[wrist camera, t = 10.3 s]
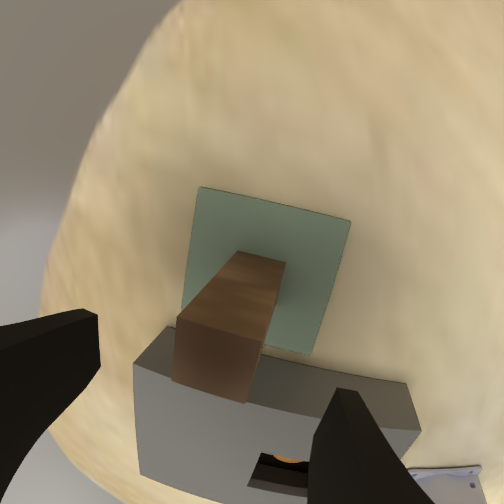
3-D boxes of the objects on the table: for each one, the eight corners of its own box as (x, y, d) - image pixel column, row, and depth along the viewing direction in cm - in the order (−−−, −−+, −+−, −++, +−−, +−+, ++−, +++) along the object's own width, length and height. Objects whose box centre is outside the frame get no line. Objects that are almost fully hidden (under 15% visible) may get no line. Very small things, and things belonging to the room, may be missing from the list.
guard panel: (406, 383, 17) (421, 430, 13) (340, 482, 21) (340, 522, 16) (166, 326, 19) (132, 363, 15) (161, 438, 23) (140, 474, 18)
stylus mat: (350, 221, 16) (351, 222, 15) (310, 352, 18) (309, 355, 17) (201, 186, 17) (198, 187, 16) (182, 317, 19) (180, 320, 18)
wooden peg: (286, 262, 16) (262, 341, 9) (274, 306, 17) (245, 404, 9) (237, 250, 17) (176, 316, 9) (229, 294, 17) (171, 380, 10)
